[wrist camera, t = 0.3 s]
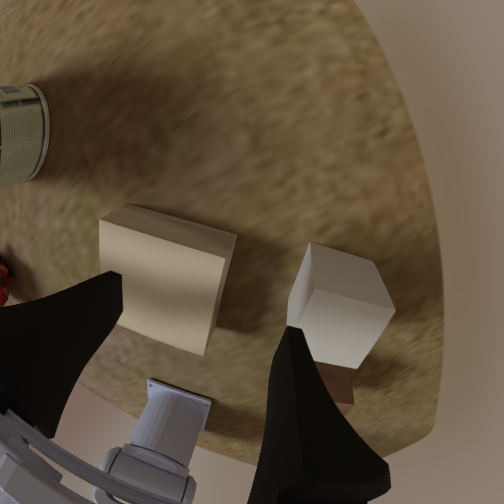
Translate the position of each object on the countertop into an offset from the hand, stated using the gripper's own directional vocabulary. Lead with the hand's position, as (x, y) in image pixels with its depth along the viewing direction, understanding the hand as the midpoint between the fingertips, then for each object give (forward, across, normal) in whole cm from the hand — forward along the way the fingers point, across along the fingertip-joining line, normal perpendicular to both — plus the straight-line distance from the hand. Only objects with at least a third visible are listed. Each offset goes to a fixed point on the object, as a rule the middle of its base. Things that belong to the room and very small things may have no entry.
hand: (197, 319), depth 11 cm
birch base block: (+10, +5, +5) cm, 12 cm away
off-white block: (+10, -7, +2) cm, 12 cm away
